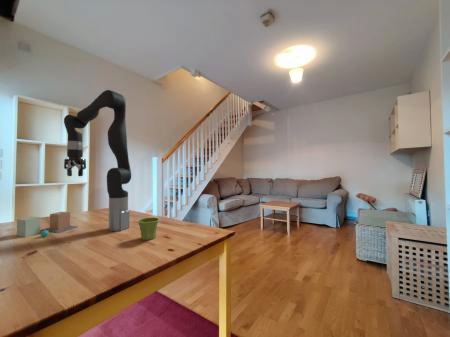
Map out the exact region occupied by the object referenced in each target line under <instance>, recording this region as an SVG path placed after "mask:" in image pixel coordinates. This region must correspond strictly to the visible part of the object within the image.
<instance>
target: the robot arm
mask: <svg viewBox="0 0 450 337" xmlns="http://www.w3.org/2000/svg"><path fill="white" fill-rule="evenodd" d="M126 107H127V105H126V98H125V97H124V95H122V94H121V93H118V92H116V91H114V90H112V89H111V90H110V89H106V90H104V91H102V92H101V93H100V94H99V95H98V96H97V97H96V98H95V99H94V100H93V101H92V102H91V103H90V104H89V105H87V106H86V107H84V108H83V109H81V110H79V111H78V112H76V113H77V114H76V115H74V114H73V115H72V114H67V115H65V117H64V118H63V124H64V127H65V129H66V133H67V143H66V144H67V145H66V153H67V154H66V157H68V158H64V160H63V161H64V162H63V163H64V164H63V169H65V170H66V175H67V177H72V176H73V170H72V169H73V168H74V167H76V168H77V171H78V172H77V177H83V175H84V170H85V169H87V160H86V158H83V157H84V156H83V152H84V150H83V148H84V145H83V133H81V132H80V131H77V129H80V130H81V129H84V128H86V126H88V125H89V122H91V121H93V120H95V119H96V118H97V117H98V116H99V115H100V114H99V113H100V111H101V109H103V108H104V109H105V108H109V109H112V110H113V115H114V116H113V121H112V123H111V124H110V126H109V127H108V130H107V144H108V146H109V148H110V150H111V152H112V153H113V155H114V157H115V159H116V164H117V167H112V168H109V169H108V171H107V174H106V190H107V194H108V230H109V231H110V232H119V231H121V232H122V231H124V230H127V229H129V228H130V210H129V192H128V191H127V190H124V189H123V185H126V184H129V183H130V182H131V180H132V170H131V166H130V160H129V152H128V150H129V149H128V139H127V137H128V136H127V127H126V126H127V125H126V122H127V121H126V110H127V108H126Z"/></svg>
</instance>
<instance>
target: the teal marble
mask: <svg viewBox="0 0 450 337" xmlns="http://www.w3.org/2000/svg"><path fill="white" fill-rule="evenodd" d="M49 234H50V232H49V231H47V230H44V231H40V236H41V237H43V238H45V237H48V236H49Z"/></svg>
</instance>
